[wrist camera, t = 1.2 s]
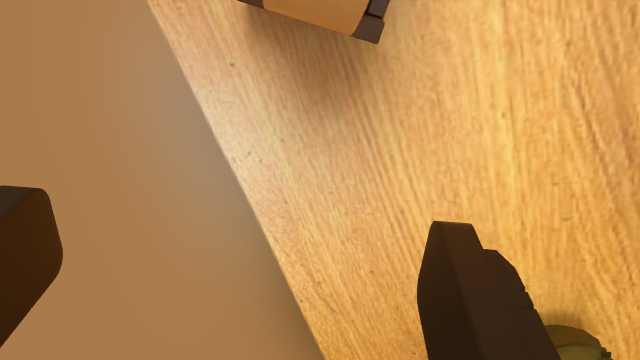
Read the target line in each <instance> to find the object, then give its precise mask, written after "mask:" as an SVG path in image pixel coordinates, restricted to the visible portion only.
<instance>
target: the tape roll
mask: <svg viewBox="0 0 640 360" xmlns="http://www.w3.org/2000/svg"><path fill="white" fill-rule="evenodd" d="M368 2H369V0H263V6H264V8H265V9H266V10H269V11H273V12H276V13H279V14H282V15H285V16H289V17H292V18H295V19H298V20H301V21H305V22H308V23H311V24H314V25H317V26H321V27H324V28H327V29H330V30H333V31H337V32H340V33H343V34H346V35H352V34H353V32H354V31H355V29H356V28H357V26H358V24H359V22H360V20H361V18H362V16H363V13H364V11H365V9H366V7H367V4H368Z"/></svg>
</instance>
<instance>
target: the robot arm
mask: <svg viewBox="0 0 640 360" xmlns="http://www.w3.org/2000/svg"><path fill="white" fill-rule="evenodd" d="M62 258H63V249H62V245H61V241H60V237H59V234H58V230H57V225H56V221H55V218H54V214H53V210H52V206H51V202H50V199H49V196H48V194H47V193H46V192H45V191H44V190H43V189H40V188H28V187H15V186H0V348H1V346H2V345H3V344H4V342H5V341H6V340H7V339H8V337H9V336H10V335H11V334H12V332H13V331H14V330H15V329H16V327H17V326H18V325H19V324H20V322H21V321H22V320H23V318H24V317H25V316H26V315H27V313H28V312H29V311H30V309H31V308H32V307H33V306H34V305H35V303H36V302H37V301H38V300H39V298H40V297H41V296H42V294H43V293H44V292H45V291H46V289H47V288H48V287H49V286H50V284H51V283H52V282H53V281H54V279H55V278H56V276H57V275H58V273H59V271H60V268H61V264H62ZM417 304H418V310H419V315H420V320H421V325H422V330H423V335H424V339H425V344H426V349H427V354H428V359H429V360H561V358H560V356H559V354H558V352H557V350H556V348H555V346H554V344H553V342H552V340H551V338H550V336H549V334H548V332H547V330H546V328H545V326H544V324H543V322H542V320H541V318H540V316H539V314H538V312H537V310H536V309H534V304H533V302H532V300H531V298H530V296H529V295H528V293H527V292H525V287H524V285H523V283H522V281H521V279H520V277H519V275H518V273H517V271H516V269H515V267H514V266H512V265H511V264H510V263H509V262H508V261H507V260H506V259H505V258H504V257H503V256H502V255H501V254H500V253H499V252H498V251H497V250H489V249H483V248H482V245H481V243H480V241H479V238H478V236H477V234H476V232H475V229H474V227H473V226H472V225H471V224H469V223H456V222H444V221H433V223H432V224H431V227H430V230H429V234H428V239H427V243H426V247H425V252H424V256H423V260H422V264H421V269H420V273H419V278H418V285H417Z"/></svg>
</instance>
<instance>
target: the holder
mask: <svg viewBox="0 0 640 360" xmlns="http://www.w3.org/2000/svg"><path fill="white" fill-rule="evenodd" d="M237 1H240V2H243V3H247V4H250V5H253V6H256V7H259V8H263V9H265V8H264V6H263V0H237ZM388 3H389V0H369V2H368V4H367V7H366V10H365V11H364V13H363V16H362V18H361V20H360V22H359V24H358V26H357V28H356V29H355V31H354V32H353V34H352V35H349V36H352V37H355V38H358V39H362V40H365V41H368V42H371V43H374V44H378V42H379V39H380V36H381V34H382V31H383V28H384V25H385V23H384V21H383V17H384V15H385V12H386V9H387V6H388ZM272 12H273V11H272ZM275 13H276V12H275ZM278 14H279V13H278ZM288 17H289V16H288ZM291 18H292V17H291ZM294 19H295V18H294ZM304 22H305V21H304ZM307 23H308V22H307ZM310 24H311V23H310ZM320 27H321V26H320ZM323 28H324V27H323ZM326 29H327V28H326ZM336 32H337V31H336ZM339 33H340V32H339ZM342 34H343V33H342Z"/></svg>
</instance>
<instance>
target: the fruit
mask: <svg viewBox="0 0 640 360" xmlns="http://www.w3.org/2000/svg"><path fill="white" fill-rule="evenodd" d="M545 328H546V330H547V332H548V334H549V336H550V338H551V340H552V342H553V344H554V346H555V348H556V350H557V352H558V354H559V356H560V358H561V360H613V359H612V358H610V357H611V352H607V351H606V348H604V347H601V344H600V342H599V340H598V339H596V338H595V337H593V336H592V335H590V334H589V333H587V332H586V331H584V330H580V329H576V328H572V327H568V326H560V325H549V326H545Z"/></svg>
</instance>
